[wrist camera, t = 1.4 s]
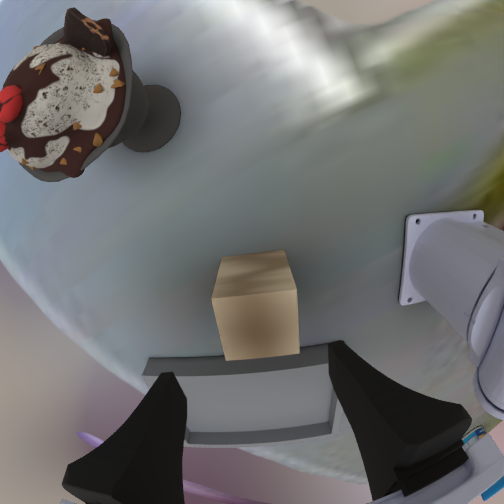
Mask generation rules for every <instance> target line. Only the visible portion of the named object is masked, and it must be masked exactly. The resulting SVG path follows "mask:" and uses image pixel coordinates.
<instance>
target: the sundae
mask: <svg viewBox="0 0 504 504" xmlns="http://www.w3.org/2000/svg"><path fill="white" fill-rule="evenodd" d="M180 116H181V111H180V106H179V102H178V100H177V98H176V97H175V95H174V94H173V93H172V92H171V91H170V90H168V89H167V88H165V87H162V86H159V85H146V86H143V84H142V82H141V80H140V79H139V77H138V76H137V75H136V73H135V72H134V71H133V70H132V61H131V54H130V48H129V44H128V42H127V40H126V38H125V36H124V34H123V33H122V31H121V30H120V29H119V28H118V27H116V26H115V25H113V24H111V21H110V19H101V20H98V21H94V20H91V19H90V18H88V17H86V16H84V15H83V14H81V13H80V12H79V11H78V10H77V9H76V8H70V9H67V12H66V16H65V23H64V27H63V28H61V29H59V30H58V31H56V32H54V33H53V34H52V35H50V36H49V37H48V38H47V39H46V40H44V41H43V43H42V44H41V45H40V46H36V47H34V50H33V51H31V52H30V53H28V54H27V55H26V56H25V57H24V58H23V59H22V60H21V61H20V62H19V63H18V64H17V65H16V66H15V67H14V68H13V69H12V71H11V72H10V74H9V75H8V77H7V79H6V81H5V83H4V85H3V89H2V91H1V92H0V152H2V151H4V150H6V149H7V150H8V152H9V153H10V155H11V156H12V157H13V158H14V159H15V160H16V161H18V162H19V163H20V165H21V166H22V167H23V168H24V169H25V170H27V171H28V172H29V173H30V174H31V175H33V176H34V177H36V178H37V179H39V180H41V181H46V182H59V181H61V180H63V179H66V178H69V177H72V178H76V177H79V176H80V175H82V173H83V172H84V170H85V168H86V167H87V166H88V165H89V164H91V163H92V162H93V161H94V160H96V159H97V158H98V157H99V156H100V155H101V154H102V153H103V152H104V151H105V150H107V149H108V148H110V147H113V146H115V145H117V144H119V143H121V142H123V144H124V145H125V146H127V147H128V148H130V149H132V150H134V151H138V152H150V151H154V150H156V149H159V148H161V147H162V146H163V145H165V144H166V143H167V142H168V141H169V140H171V138H172V137H173V135H174V134H175V132H176V130H177V128H178V126H179V122H180Z"/></svg>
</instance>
